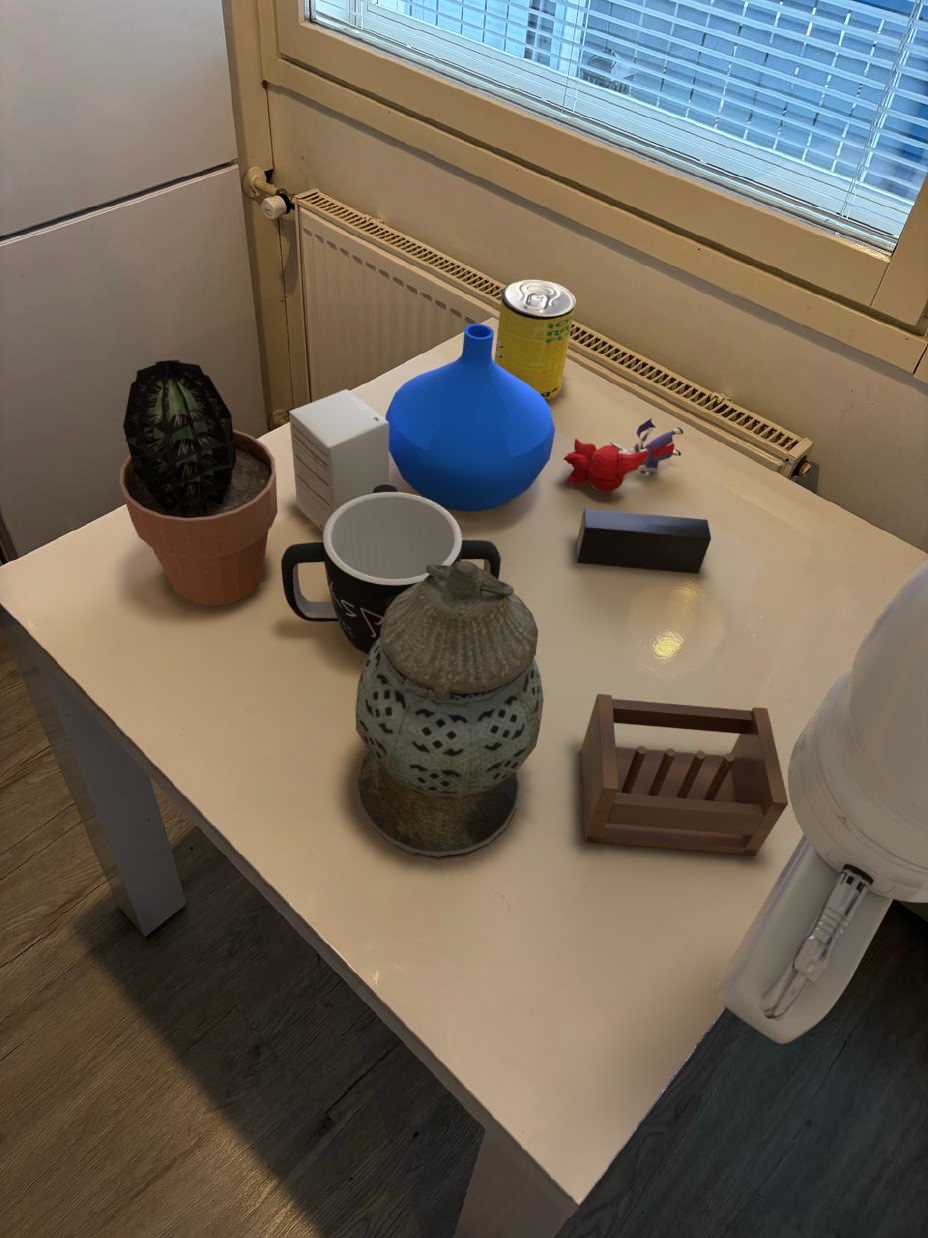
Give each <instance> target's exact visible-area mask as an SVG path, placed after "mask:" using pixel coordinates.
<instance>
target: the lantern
mask: <svg viewBox="0 0 928 1238" xmlns="http://www.w3.org/2000/svg"><path fill="white" fill-rule="evenodd" d="M483 569H484V568H481V567H479V566H478V565H477V564H476V563H474V562H472V561H469V560H461V561H459V562H456V563H455V564H453V565H452V566H447V565H441V564H428V565H427V566H426V571H427V573H428V574H430V575H428V576H427V577H426V578H425V579H424V580H423V582H420V583H417V584H415V585H413V586H412V587H410V588H409V589H407V590H406V591H404V592H402V593H401V594H399V595H398V596H397V597H396V598H395V600H394V601H393V602H392V603H391V605H390V606H389V607H388V608H387V610H386V612H385V615H384V619H383V622H382V626H381V631H380V638H379V639H378V640H377V641H376V642H375V643H374V645H373V647H372V648H371V650H370V652H369V653H368V655H367V654H366V657H365V658H364V662H363V666H362V668H361V672H360V674H359V678H358V681H357V690H356V700H355V731H356V733H357V734H358V737H359V738H360V740H361V741H362V742H363V744H364V746H365V748H366V749H367V750H368V753H366V755H365V757H364V758H363V760H362V763H361V767H360V771H359V775H358V779H357V787H358V795H359V805H360V808H361V810H362V812H363V814H364V815H365V818H366V819H367V822H368V824H369V825H370V827H371V828H372V829H373V830H374V831H375V833H378V835H379V836H380V837H381V838H383V840H384V841H385V842H386V843H388V844H389V845H391V846H393V847H394V848H395V847H396V848H397V849H399V850H401V851H403V852H405V853H407V854H410V855H412V856H417V857H423V858H429V859H433V860H434V859H436V860H443V859H451V858H459V857H467V856H469V855H470V854H473V853H475V852H478V851H479V850H481V849H484V848H486V847H488V846H489V845H490V844H492V843H493V842H494V841H495V840H496V839H498V837H499V836H500V835H501V834H503V833H504V832H505V831H506V830H507V828H508V826H509V824H510V822H511V820H512V818H513V816H514V814H515V813H516V811H517V807H518V801H519V800H518V799H519V794H520V793H519V792H520V782H519V778H518V774H517V771H518V770H519V769H521V767H522V765H523V764H524V763H525V761H526V760H527V759H528V758H529V756H530V755H531V754H532V753H533V752H534V750H535V748H536V747H537V744H538V739H539V733H540V730H541V723H542V716H543V708H544V693H543V686H542V678H541V673H540V669H539V668H538V667H539V666H538V665H537V661H536V657H535V656H536V655H537V647H538V638H539V629H538V626H537V623H536V620H535V617H534V614H533V613H532V611H531V610H530V608H529V607H528V606H527V605H526V603H525V602H524V601H523V600H522V598H521V597H520V596H519V595H517V594H516V593H515V589H514V587H513V586H512V585H511V584H509V583H507V582H505V581H502V580H500V579H499V580H497V579H496V577H494V576H493V575H492V574H490V573H489V572H487V571H486V570H483Z"/></svg>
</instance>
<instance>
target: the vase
mask: <svg viewBox="0 0 928 1238" xmlns="http://www.w3.org/2000/svg"><path fill="white" fill-rule="evenodd" d="M494 336H495V331H494V330H493V328H492V327H490V326H489V325H486V324H484V323H483V324H482V323H473V324H468V325H467V326H465V328H464V331H463V341H462V342H463V343H462V352H461V355H460V356H459V357H458V358H456V360H453V361H452V362H449V363H447V364H445V365H442V366H440V367H437V368H435V369H432V370H429V371H426V372H423V373H420V374H418V375H416V376H414V377H413V378H411V379H410V380H407V381H406V382H405V383H403V384H402V385H401V386H400V387H399V388H398V390H396V392H395V393H394V395H393V397H392V399H391V401H390V403H389V406H388V408H387V411H386V413H385V416H384V417H385V418H384V419H385V420H386V421H388V422H389V455H391V458H392V460H393V462H394V464H395V466H396V468H397V470H398V472H399V474H400V476H401V478H402V479H403V480H404V481H405V482H406V483H407V485H409V486H410V487H411V488H412V489H413V490H414V491H415V492H416V493H417V494H418V496H420V497H423V498H426V499H429V500H431V501H433V502H435V503H437V504H438V505H440V506H441V507H443V508H444V509H445V510H450V511H455V512H462V513H470V512H471V513H474V512H475V513H477V512H485V511H489V510H490V511H491V510H494V509H497V508H500V507H503V506H504V505H507V504H508V503H510V502H511V501H513V500H515V499H517V498H518V497H520V496H521V495H522V494H523V493H525V492H526V491H527V490H528V489H530V487H531V486H532V485H533V483H534V482H535V480H536V479H537V478H538V477H539V475H540V474H541V472H542V471H543V470H544V468H545V467H546V465H547V464H548V463H549V461H550V460H551V456H552V455H551V454H552V450H553V445H554V439H555V433H556V427H555V423H554V419H553V415H552V412H551V408H550V406H549V404H548V403H547V401H545V400H544V399H543V397H542V396H541V395H540V394H539V393H538V392H537V391H535V390H534V389H533V388H532V387H530V386H529V385H528V384H526V383H524V382H523V381H521V380H519V379H518V378H516V377H514V376H513V375H511V374H510V373H508V372H507V371H505V370H504V369H502V368H501V367H500V366H498V365H497V364H496V363H495V362H494V361H495V359H493V347H494V346H493V345H494Z"/></svg>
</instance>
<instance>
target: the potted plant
mask: <svg viewBox="0 0 928 1238" xmlns="http://www.w3.org/2000/svg"><path fill="white" fill-rule="evenodd" d="M129 386H130V387H129V393H128V397H127V403H126V409H125V413H124V418H123V424H122V429H123V431H124V432H123V433H124V435H125V442H126V444H127V447H128V451H129V454H128V455H127V457H126V459H125V460H124V462H123V464H122V466H121V467H120V471H119V482H118V483H119V484H118V485H119V488H120V490H121V493H122V497H123V499H124V502H125V505H126V508H127V511H128V514H129V519H130V521H131V524H132V525H133V529H134V530H135V532H136V535H137V536H138V538H139V539H141V540H142V541H143V542H144V543H145V544H146V545H147V546H149V547H150V548H151V549H152V550H153V552H154V554H155V556H156V558H157V560H158V562H159V563H160V565H161V568H163V571H164V573H165V574H166V576H167V578H168V581H169V582H170V584H171V586H172V588H173V589H174V591H175V593H176V594H178V595H179V596H180V597H181V598H183V599H184V600H186V601H188V602H190V603H193V604H195V605H202V606H211V607H212V606H222V605H223V606H224V605H229V604H231V603H234V602H237V601H239V600H241V599H244V598H245V597H246V596H248V595H249V594H251V593H252V592H253V590H255V588H257V586H258V585H260V584H259V583H260V580H261V578H262V577H263V576H262V575H263V571H264V570H263V569H264V564H265V556H266V550H267V549H266V548H267V543H268V536H269V530H270V529H271V528H272V527H273V524H274V522H275V520H276V517H277V514H278V491H277V468H276V460H275V457H274V456H273V454H272V453H271V451H270V450H269V448H268V447H267V445H266V444H264V443H262V442H261V441H259V440H258V439H256V438H255V437H254V436H253V435H251V434H248V433H245V432H242V431H239V430H237V429H234V428H233V418H232V417H233V415H232V413H231V412H230V410H229V408H228V406H227V405H226V403H225V400H223V398H222V396H221V395H220V393H219V390H218V389H217V387H216V386H215V384H214V382H213V380H212V379H211V377H210V376H209V375H207V374H205V373H204V371H203V369H202V367H201V366H200V364H195V363H189V362H180V359H169V360H159V361H155V364H153V365H150V366H147V367H144V368H142V369H139V370H137V371H136V376H135V380H134V381H132V382H131V383H130V385H129Z"/></svg>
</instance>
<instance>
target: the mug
mask: <svg viewBox="0 0 928 1238" xmlns="http://www.w3.org/2000/svg"><path fill="white" fill-rule="evenodd" d="M469 560H483V568H482V569H483V570H486V571H487V572H489V573H490V574H492V575H493V576H494V577H496V579H497V580H500V573H501V562H502V558H501V554H500V551H499V549H498V547H497V546H496V545H495V543H493V542H492V541H489V540H481V539H463V534H462V531H461V528H460V525H459V524H458V522H457V520H456V519H455V517H454V516H453V515H452V514H451V512H449V511H448V509H446V508H444V507H441V506H440V505H438V504H437V503H435V502H433V501H431V500H429V499H426V498H423V497H422V496H421V495H417V494H412V493H408V492H399V491H398V489H397V487H396V486H394V485H392V484H389V485H387V484H383V485H379V486H377V487H375V488H374V490H373V494H369V495H365V496H361V497H358V498H356V499H353V500H351V501H349V502H347V503H346V504H344V505H342V506H341V507H340V508H338V509H337V510H336V511H335V512H334V513H333V514H332V515H331V517H330V518H329V520H328V521H327V523H326V526H325V528H324V531H323V532H322V541H314V542H313V541H312V542H302V543H295V544H290V546H288V547H287V548H286V549H285V551H284V552H283V555H282V557H281V560H280V570H281V581H282V588H283V594H284V597H285V599H286V600H285V601H286V603H287V604H288V606H289V607H290V609H291V610H292V611H293V613H294V614H295V615H296V616H297V617H298V618H300V619H302V620H304V621H307V622H311V623H312V622H314V623H338V624H339V626H340V628H341V631H342V632H343V634H344V636H345V637H346V639H347V640H348V642H350V644H351V645H352V646H353V647H355V648H356V649H357V650H358V651H360V652H361V653H363V654H365V655H366V656H367V655H368V653H369V652H370V650H371V648H372V647H373V645H374V643H375V642H376V641H377V640H378V639H379V638H380V631H381V626H382V622H383V619H384V615H385V612H386V610H387V608H388V607H389V606H390V605H391V603H392V602H393V601H394V600H395V598H396V597H397V596H398V595H399V594H401V593H402V592H404V591H406V590H407V589H409V588H410V587H412V586H413V585H415V584H417V583H420V582H423V580H424V579H425V578H426V577H427V576H428V575H430V574H428V573H427V571H426V566H427V565H428V564H441V565H447V566H452V565H453V564H455V563H456V562H459V561H469ZM310 563H313V564H315V563H323V564H324V568H325V576H326V583H327V587H328V590H329V594H330V598H331V601H313V600H308V599H307V598H306V597H305V596H304V594H303V593H302V590H301V584H300V578H299V564H310Z"/></svg>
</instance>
